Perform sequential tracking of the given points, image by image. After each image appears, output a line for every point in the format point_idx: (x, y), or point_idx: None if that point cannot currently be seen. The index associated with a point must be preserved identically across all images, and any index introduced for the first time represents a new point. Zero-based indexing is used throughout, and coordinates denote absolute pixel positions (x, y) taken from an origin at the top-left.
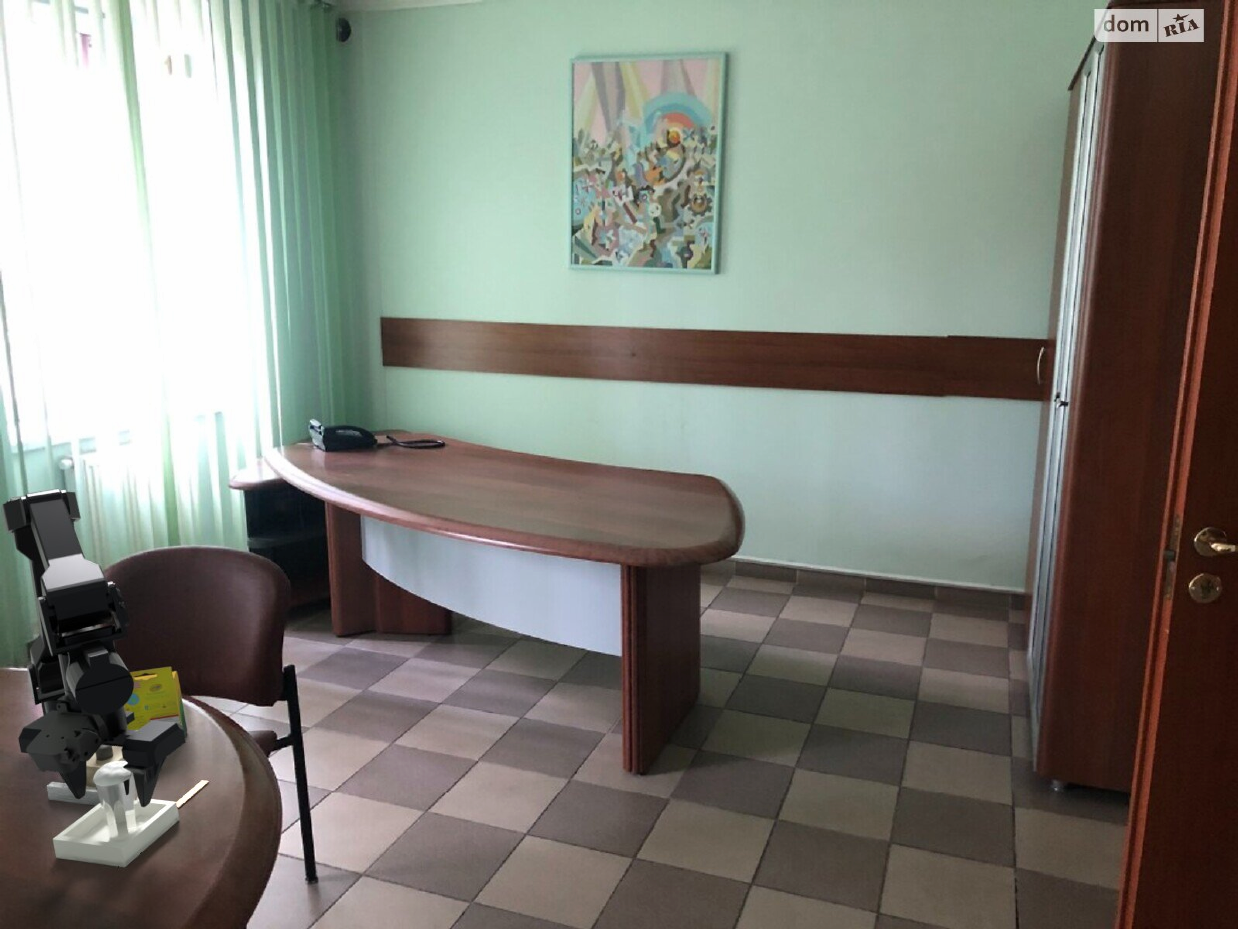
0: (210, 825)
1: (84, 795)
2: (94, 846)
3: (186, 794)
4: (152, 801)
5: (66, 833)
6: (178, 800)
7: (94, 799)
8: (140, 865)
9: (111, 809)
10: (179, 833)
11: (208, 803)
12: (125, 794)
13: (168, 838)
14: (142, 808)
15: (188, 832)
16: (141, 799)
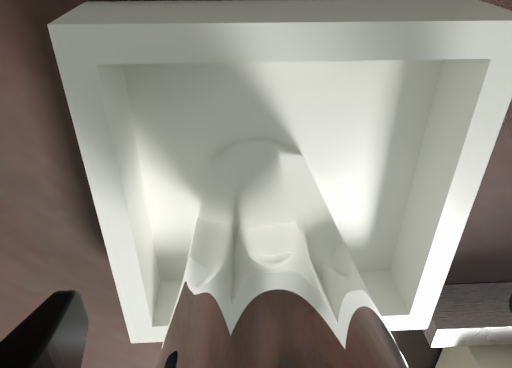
0: (12, 283)
1: (509, 300)
2: (246, 20)
3: None
4: None
5: (482, 84)
6: None
7: (497, 300)
8: (31, 34)
9: (246, 240)
10: (76, 233)
11: (127, 350)
12: (161, 354)
13: (89, 204)
14: None
15: (49, 243)
16: (18, 338)
